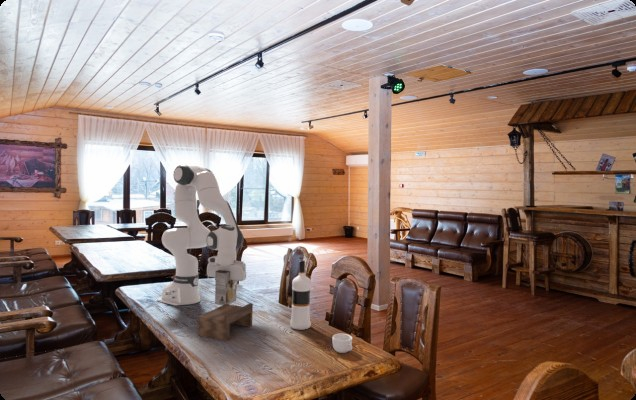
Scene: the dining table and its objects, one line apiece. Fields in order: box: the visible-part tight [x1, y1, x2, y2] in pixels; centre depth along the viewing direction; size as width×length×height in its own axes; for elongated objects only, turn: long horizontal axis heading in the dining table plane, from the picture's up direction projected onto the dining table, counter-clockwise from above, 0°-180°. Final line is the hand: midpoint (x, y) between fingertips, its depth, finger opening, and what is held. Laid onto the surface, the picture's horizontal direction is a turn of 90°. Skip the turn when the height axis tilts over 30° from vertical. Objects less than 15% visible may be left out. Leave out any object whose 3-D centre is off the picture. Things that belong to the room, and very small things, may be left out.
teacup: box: [331, 333, 353, 354], centre depth 162 cm, size 10×8×5 cm
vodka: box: [289, 260, 312, 331], centre depth 188 cm, size 9×9×30 cm
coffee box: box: [214, 270, 238, 306], centre depth 202 cm, size 9×6×16 cm
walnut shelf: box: [197, 303, 254, 342], centre depth 181 cm, size 14×20×10 cm
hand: (226, 287), depth 202 cm, fingers closed on coffee box, 6 cm apart
